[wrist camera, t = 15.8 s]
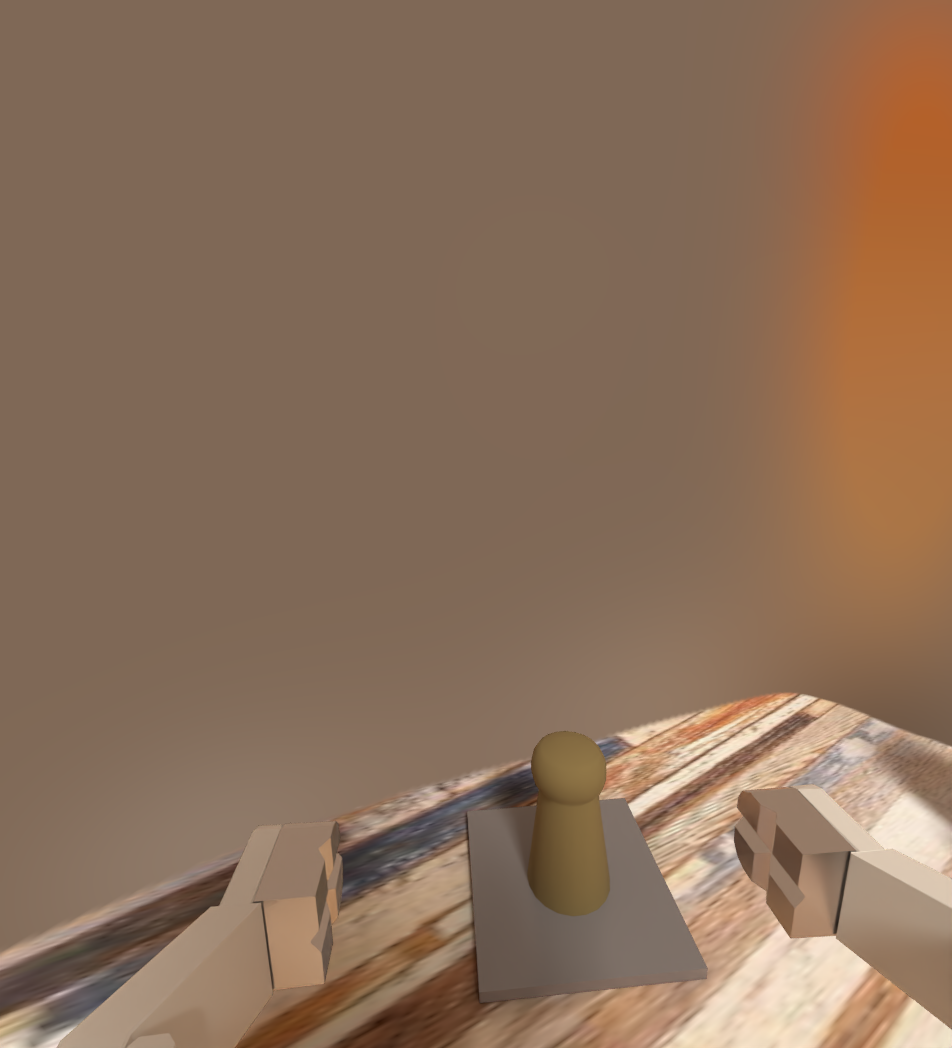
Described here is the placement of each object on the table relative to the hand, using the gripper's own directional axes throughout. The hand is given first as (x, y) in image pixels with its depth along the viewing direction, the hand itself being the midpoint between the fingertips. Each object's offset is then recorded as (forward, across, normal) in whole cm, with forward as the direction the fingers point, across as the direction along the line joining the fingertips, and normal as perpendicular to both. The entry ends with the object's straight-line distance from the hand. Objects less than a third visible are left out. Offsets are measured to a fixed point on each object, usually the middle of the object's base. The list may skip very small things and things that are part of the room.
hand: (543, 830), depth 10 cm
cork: (+21, -7, +26) cm, 34 cm away
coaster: (+21, -7, +26) cm, 34 cm away
